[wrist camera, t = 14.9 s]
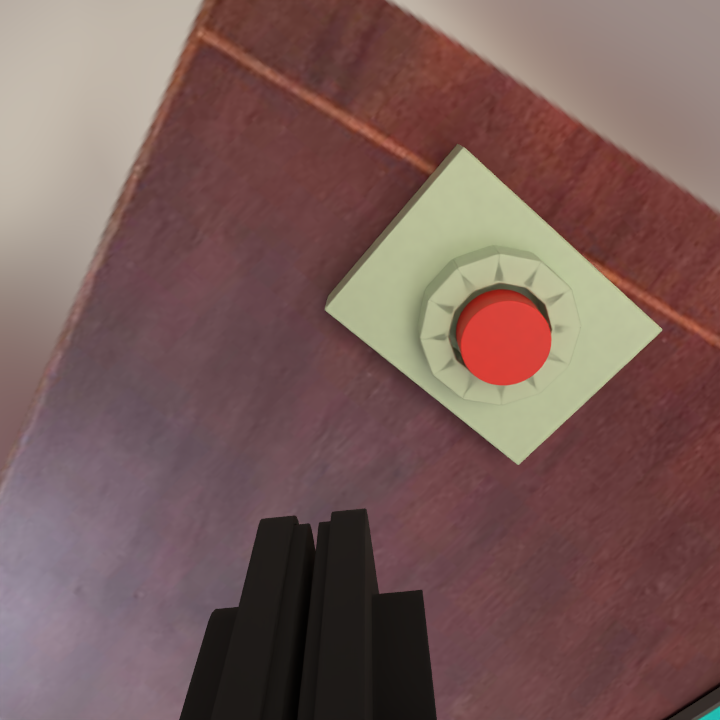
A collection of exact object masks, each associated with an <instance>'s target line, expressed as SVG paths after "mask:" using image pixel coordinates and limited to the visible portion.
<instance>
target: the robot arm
mask: <svg viewBox="0 0 720 720" xmlns="http://www.w3.org/2000/svg"><path fill="white" fill-rule="evenodd" d="M179 720H437V717H436V708H435V699H434V689H433V680H432V671H431V662H430V654H429V645H428V636H427V627H426V618H425V609H424V600H423V592H422V590H416V591H405V592H395V593H384V594H379V591H378V584H377V577H376V570H375V563H374V556H373V549H372V542H371V535H370V528H369V521H368V515H367V510H366V509H356V510H346V511H336V512H332V513H331V521H329V522H320V523H319V527H318V536H317V545H316V551H315V545H314V540H313V534H312V529H311V526H310V524H299V522H298V519H297V517H296V516H286V517H276V518H266V519H261V520H260V523H259V526H258V530H257V534H256V538H255V542H254V546H253V550H252V554H251V558H250V563H249V567H248V571H247V575H246V579H245V583H244V587H243V591H242V595H241V599H240V603H239V607H233V608H222V609H215V610H214V611H213V612H212V614H211V616H210V619H209V621H208V625H207V628H206V632H205V635H204V638H203V642H202V645H201V648H200V652H199V655H198V658H197V662H196V665H195V669H194V672H193V675H192V679H191V682H190V685H189V689H188V692H187V695H186V699H185V702H184V706H183V709H182V712H181V716H180V719H179Z"/></svg>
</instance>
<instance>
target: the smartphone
mask: <svg viewBox="0 0 720 720" xmlns="http://www.w3.org/2000/svg"><path fill="white" fill-rule="evenodd" d="M669 720H720V687H719V688H718V689H716V690H714V691H713V692H711V693H710V694H708V695H707V696H705V697H703V698H702V699H700V700H699V701H697V702H696V703H694V704H692V705H691V706H689V707H688V708H686V709H685V710H683V711H681V712H680V713H678V714H677V715H675V716H674V717H672V718H670V719H669Z"/></svg>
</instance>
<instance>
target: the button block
mask: <svg viewBox="0 0 720 720" xmlns="http://www.w3.org/2000/svg"><path fill="white" fill-rule="evenodd" d="M498 289H506V290H512V291H516V292H518V293H521V294H523V295H524V296H526V297H527V298H529V299H530V300H531V301H532V302H533V303H534V305H535V306H536V307H537V309H538V310H539V311H540V312H541V314H542V315H543V316H544V318H545V319H546V321H547V323H548V325H549V328H550V331H551V339H552V341H551V349H550V353H549V355H548V358H547V360H546V362H545V363H544V364H543V366H542V367H541V368H540V369H539V371H538V372H536V373H535V374H534V375H533V376H531V377H530V378H528V379H527V380H525V381H522V382H520V383H517V384H513V385H493V384H489V383H487V382H484V381H482V380H480V379H478V378H477V377H476V376H474V375H473V374H472V373H471V372H470V371H469V369H468V368H467V367H466V365H465V363H464V361H463V359H462V356H461V353H460V349H459V346H458V343H457V339H456V327H457V322H458V319H459V316H460V314H461V312H462V311H463V309H464V308H465V307H466V305H467V304H468V303H469V302H470V301H471V300H473V299H474V298H475V297H477V296H479V295H481V294H483V293H485V292H488V291H492V290H498ZM325 311H326V312H328V313H329V314H330V315H331V316H333V317H334V318H335V319H336V320H338V321H339V322H340V323H341V324H343V325H344V326H345V327H346V328H348V329H349V330H350V331H351V332H353V333H354V334H355V335H356V336H358V337H359V338H360V339H361V340H363V341H364V342H365V343H366V344H368V345H369V346H370V347H371V348H373V349H374V350H375V351H376V352H378V353H379V354H380V355H381V356H383V357H384V358H385V359H386V360H388V361H389V362H390V363H391V364H393V365H394V366H395V367H396V368H398V369H399V370H400V371H401V372H403V373H404V374H405V375H406V376H407V377H409V378H410V379H411V380H412V381H414V382H415V383H416V384H417V385H419V386H420V387H421V388H422V389H424V390H425V391H426V392H427V393H429V394H430V395H431V396H432V397H434V398H435V399H436V400H437V401H439V402H440V403H441V404H442V405H444V406H445V407H446V408H447V409H449V410H450V411H451V412H452V413H454V414H455V415H456V416H457V417H459V418H460V419H461V420H462V421H464V422H465V423H466V424H467V425H469V426H470V427H471V428H472V429H474V430H475V431H476V432H477V433H479V434H480V435H481V436H482V437H484V438H485V439H486V440H487V441H489V442H490V443H491V444H492V445H494V446H495V447H496V448H497V449H499V450H500V451H501V452H502V453H504V454H505V455H506V456H507V457H509V458H510V459H511V460H512V461H514V462H515V463H516V464H517V465H519V464H520V463H521V462H522V461H523V460H524V459H525V458H526V457H528V456H529V455H530V454H531V453H532V452H533V451H534V450H535V449H536V448H537V447H538V446H539V445H540V444H541V443H542V442H544V441H545V440H546V439H547V438H548V437H549V436H550V435H551V434H552V433H553V432H554V431H555V430H556V429H557V428H559V427H560V426H561V425H562V424H563V423H564V422H565V421H566V420H567V419H568V418H569V417H570V416H571V415H572V414H574V413H575V412H576V411H577V410H578V409H579V408H580V407H581V406H582V405H583V404H584V403H585V402H586V401H587V400H589V399H590V398H591V397H592V396H593V395H594V394H595V393H596V392H597V391H598V390H599V389H600V388H601V387H602V386H603V385H605V384H606V383H607V382H608V381H609V380H610V379H611V378H612V377H613V376H614V375H615V374H616V373H617V372H618V371H620V370H621V369H622V368H623V367H624V366H625V365H626V364H627V363H628V362H629V361H630V360H631V359H632V358H633V357H635V356H636V355H637V354H638V353H639V352H640V351H641V350H642V349H643V348H644V347H645V346H646V345H647V344H648V343H649V342H651V341H652V340H653V339H654V338H655V337H656V336H657V335H658V334H659V333H660V332H661V331H662V328H660V327H659V326H658V325H657V324H656V323H655V322H654V321H653V320H652V319H651V318H650V317H649V316H647V315H646V314H645V313H644V312H643V311H642V310H641V309H640V308H639V307H638V306H637V305H635V304H634V303H633V302H632V301H631V300H630V299H629V298H628V297H627V296H626V295H625V294H623V293H622V292H621V291H620V290H619V289H618V288H617V287H616V286H615V285H614V284H613V283H611V282H610V281H609V280H608V279H607V278H606V277H605V276H604V275H603V274H602V273H601V272H600V271H598V270H597V269H596V268H595V267H594V266H593V265H592V264H591V263H590V262H589V261H588V260H586V259H585V258H584V257H583V256H582V255H581V254H580V253H579V252H578V251H577V250H576V249H574V248H573V247H572V246H571V245H570V244H569V243H568V242H567V241H566V240H565V239H564V238H562V237H561V236H560V235H559V234H558V233H557V232H556V231H555V230H554V229H553V228H552V227H551V226H549V225H548V224H547V223H546V222H545V221H544V220H543V219H542V218H541V217H540V216H539V215H537V214H536V213H535V212H534V211H533V210H532V209H531V208H530V207H529V206H528V205H527V204H525V203H524V202H523V201H522V200H521V199H520V198H519V197H518V196H517V195H516V194H515V193H513V192H512V191H511V190H510V189H509V188H508V187H507V186H506V185H505V184H504V183H503V182H502V181H500V180H499V179H498V178H497V177H496V176H495V175H494V174H493V173H492V172H491V171H490V170H488V169H487V168H486V167H485V166H484V165H483V164H482V163H481V162H480V161H479V160H478V159H476V158H475V157H474V156H473V155H472V154H471V153H470V152H469V151H468V150H467V149H466V148H464V147H462V146H461V145H456V146H455V148H454V149H453V150H452V151H451V152H450V153H449V155H448V156H447V157H446V158H445V159H444V160H443V162H442V163H441V164H440V165H439V166H438V168H437V169H436V170H435V171H434V172H433V173H432V175H431V176H430V177H429V178H428V179H427V180H426V182H425V183H424V184H423V185H422V186H421V187H420V189H419V190H418V191H417V192H416V193H415V195H414V196H413V197H412V198H411V199H410V200H409V202H408V203H407V204H406V205H405V206H404V207H403V209H402V210H401V211H400V212H399V213H398V214H397V216H396V217H395V218H394V219H393V220H392V222H391V223H390V224H389V225H388V226H387V227H386V229H385V230H384V231H383V232H382V233H381V234H380V236H379V237H378V238H377V239H376V240H375V241H374V243H373V244H372V245H371V246H370V247H369V248H368V250H367V251H366V252H365V253H364V254H363V256H362V257H361V258H360V259H359V260H358V261H357V263H356V264H355V265H354V266H353V267H352V268H351V270H350V271H349V272H348V273H347V274H346V275H345V277H344V278H343V279H342V280H341V281H340V283H339V284H338V285H337V286H336V287H335V288H334V290H333V291H332V292H331V293H330V294H329V295H328V298H327V302H326V306H325Z"/></svg>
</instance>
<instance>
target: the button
mask: <svg viewBox="0 0 720 720" xmlns="http://www.w3.org/2000/svg"><path fill="white" fill-rule="evenodd" d="M456 339H457V343H458V346H459V349H460V353H461V356H462V359H463V361H464V363H465V365H466V367H467V368H468V369H469V371H470V372H471V373H472V374H473V375H474V376H476V377H477V378H478V379H480V380H482V381H484V382H487V383H489V384H493V385H513V384H517V383H520V382H522V381H525V380H527V379H528V378H530V377H531V376H533V375H534V374H535V373H536V372H538V371H539V369H540V368H541V367H542V366H543V364H544V363H545V362H546V360H547V358H548V355H549V353H550V349H551V341H552V339H551V331H550V328H549V325H548V323H547V321H546V319H545V318H544V316H543V315H542V314H541V312H540V311H539V310H538V309H537V307H536V306H535V305H534V303H533V302H532V301H531V300H530V299H529V298H527V297H526V296H524V295H523V294H521V293H518V292H516V291H512V290H506V289H498V290H492V291H488V292H485V293H483V294H481V295H479V296H477V297H475V298H474V299H473V300H471V301H470V302H469V303H468V304H467V305H466V307H465V308H464V309H463V311H462V312H461V314H460V316H459V319H458V322H457V327H456Z"/></svg>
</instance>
